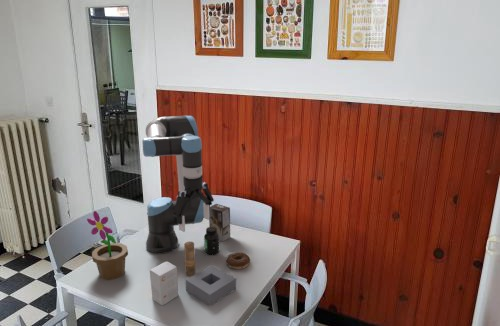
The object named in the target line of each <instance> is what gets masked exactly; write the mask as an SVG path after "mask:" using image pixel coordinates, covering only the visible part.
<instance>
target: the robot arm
mask: <svg viewBox="0 0 500 326" xmlns="http://www.w3.org/2000/svg"><path fill="white" fill-rule="evenodd" d="M145 135H146V137H144V138H143V139H142V141H141V142H142V152H143V153H142V154H143V156H144V157H147V158H148V157H150V158H155V157H165V156H166V157H167V156H175V157H176V158H175V159H176V170H177V172H176V173H177V183H178V192H177V196H176V197H175V198H176V200H173V199H172V198H171V197H166V196H164V197H163V196H162V197H158V198H155V199H153V200H151V201H149V203H148V204H147V206H146V207H147V208H146V210H147V212H146V216H147V223H148V224H147V226H148V234H147V239H146V241H145V248H146V250H147V251H148V252H150V253H151V254H152V253H153V254H167V253H170V252H172V251H174V250H176V249H177V248H178V247H179V239H178V236H177V234H176V232H175V228H174V227H175V226H178V230H179V231H181V232H183V233H185V232H186V225H191V224H192V225H194V224H199V223H202V222H203V221H204V219H205V220H208V221H209V211H210V207H211V206H212V204H213V202H214V197H213V195H212V193H211V191H210V189H209V183H208V182H205V181H203V180H204V179H203V157H202V156H203V153H202V151H203V150H202V149H203V144H202V138H201V137H200V136H199V131H198V126H197V122H196V119H195V117H194V116H192V115H174V116H173V115H172V116H171V115H170V116H160V117H156V118H155V119H153V120H152V121H149V122H148V123H147V125H146V127H145Z"/></svg>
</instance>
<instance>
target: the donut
mask: <svg viewBox="0 0 500 326" xmlns="http://www.w3.org/2000/svg"><path fill="white" fill-rule="evenodd" d="M225 261H226V265H227V266H228V267H230V268H231V269H234V270H241V269H244V268H247V267H248V266H249V264H250V262H251V258H250V256H249V255H248V254H247V253H246V252H242V251H237V252H233V253H230V254H229V255H228V256H227V257H226V260H225Z"/></svg>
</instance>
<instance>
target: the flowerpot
mask: <svg viewBox="0 0 500 326" xmlns="http://www.w3.org/2000/svg"><path fill="white" fill-rule="evenodd" d="M92 216H93V218H87V219H86V221H87V223H88V224H89V225H91V226H94V227H93V228H92V229H91V232H90V233H91V235H96V234H97V233H98V232H99V233H98V234H99V236H100V239H102V240H100V243H101V244H102V245H100V246H98V247H96V248H95V249H94V250H92V252H91V257H92V259H91V260H92V262H94V263H95V265H96V267H97V270H98V274H99V277H100V278H102V279H103V280H115V279H118V278H120V277H121V276H123V274H125V273H126V258H127V256H128V255H129V250H128V246H127V245H126V244H123V243H121V242H117V241H116V239H115V237H114V236H113V235H111V234H113V230H112V229H111V227H109V226H108V225H106V224H107V223H108V222H109V217H107V216H104V217H102V218H100V215H99V213H98V212H97V210H94V211H93V215H92ZM109 234H110V235H109Z"/></svg>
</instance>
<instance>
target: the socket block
mask: <svg viewBox="0 0 500 326" xmlns="http://www.w3.org/2000/svg"><path fill="white" fill-rule="evenodd" d="M236 290H237V277H235V276H233V275H231V274H229V273H227V272H225V271H224V270H222V269H220V268H218V267H216V266H215V265H213V264H211V265H209V266H208V267H206V268H204V269H202V270H201V271H199V272H196V273H195V274H194V275H193V276H188V277H187V278H186V279H185V291H186V292H188V293H189V294H191V295H192V296H194V297H196V298H197V299H198V300H199V301H202V302H203V303H205V304H206V305H208V306H210V307H211V306H213V305H214V304H215V303H218V302H219V301H221V300H222V299H223V298H225V297H227V296H228V295H229V294H231V293H233V292H234V291H236Z"/></svg>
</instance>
